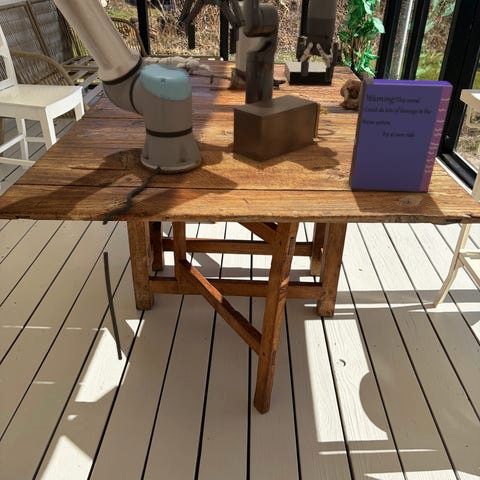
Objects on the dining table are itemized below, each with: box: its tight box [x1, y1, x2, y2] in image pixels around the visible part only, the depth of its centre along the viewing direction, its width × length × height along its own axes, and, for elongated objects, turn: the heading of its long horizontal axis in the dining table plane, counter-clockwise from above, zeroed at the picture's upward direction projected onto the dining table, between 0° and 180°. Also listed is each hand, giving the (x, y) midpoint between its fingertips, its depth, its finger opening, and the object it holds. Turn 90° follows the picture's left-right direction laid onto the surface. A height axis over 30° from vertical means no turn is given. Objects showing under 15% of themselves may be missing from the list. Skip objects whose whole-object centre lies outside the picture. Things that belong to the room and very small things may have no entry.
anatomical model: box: [339, 71, 369, 110], centre depth 171 cm, size 13×9×15 cm
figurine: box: [209, 66, 287, 89], centre depth 190 cm, size 24×8×30 cm
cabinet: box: [232, 94, 318, 163], centre depth 131 cm, size 22×11×12 cm, turn 133°
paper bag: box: [234, 1, 274, 72], centre depth 210 cm, size 19×15×28 cm
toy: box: [143, 55, 212, 75], centre depth 212 cm, size 24×25×7 cm
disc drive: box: [284, 61, 333, 85], centre depth 207 cm, size 18×22×5 cm
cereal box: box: [348, 78, 454, 193], centre depth 106 cm, size 17×5×24 cm, turn 86°
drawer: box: [313, 102, 330, 140], centre depth 135 cm, size 26×9×10 cm, turn 133°
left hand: (211, 51), depth 136 cm, fingers open, 13 cm apart
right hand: (316, 78), depth 135 cm, fingers open, 8 cm apart
